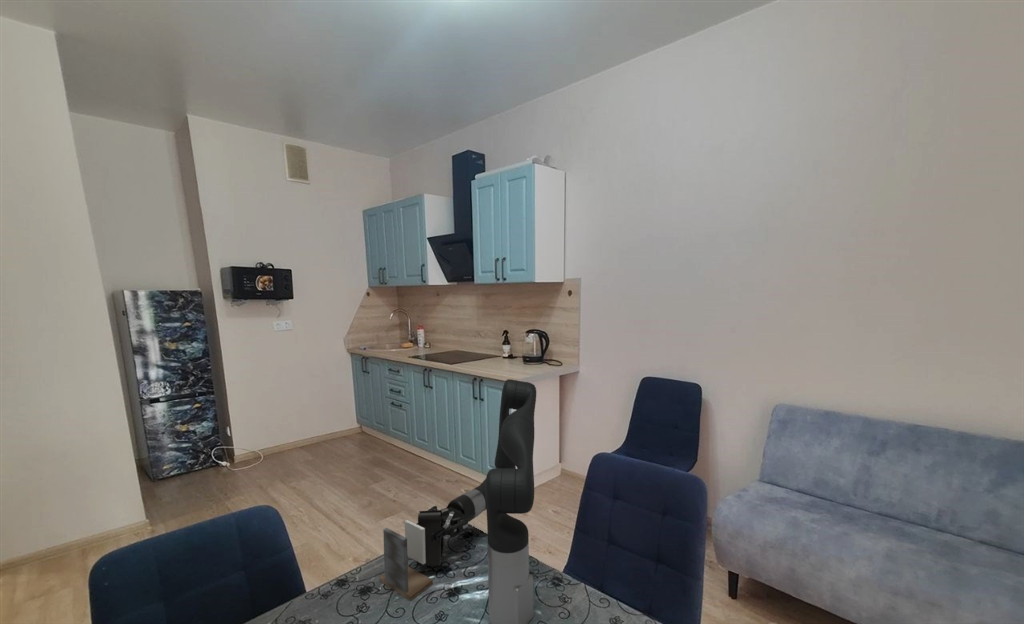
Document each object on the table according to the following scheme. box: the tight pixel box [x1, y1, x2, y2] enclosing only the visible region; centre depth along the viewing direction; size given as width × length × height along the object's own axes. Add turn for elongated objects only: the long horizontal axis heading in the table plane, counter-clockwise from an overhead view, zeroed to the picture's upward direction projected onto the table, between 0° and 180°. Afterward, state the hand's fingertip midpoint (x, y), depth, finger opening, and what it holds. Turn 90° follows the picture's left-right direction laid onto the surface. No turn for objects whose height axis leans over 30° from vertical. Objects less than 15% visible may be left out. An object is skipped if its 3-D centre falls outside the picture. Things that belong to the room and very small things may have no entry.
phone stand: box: [416, 509, 446, 567], centre depth 109 cm, size 9×6×12 cm, turn 1°
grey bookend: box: [379, 527, 434, 602], centre depth 102 cm, size 12×7×14 cm, turn 54°
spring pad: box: [404, 519, 426, 564], centre depth 105 cm, size 9×1×12 cm, turn 53°
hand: (423, 533), depth 107 cm, fingers closed on phone stand, 6 cm apart
